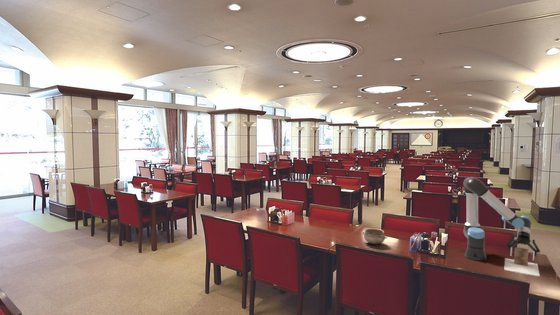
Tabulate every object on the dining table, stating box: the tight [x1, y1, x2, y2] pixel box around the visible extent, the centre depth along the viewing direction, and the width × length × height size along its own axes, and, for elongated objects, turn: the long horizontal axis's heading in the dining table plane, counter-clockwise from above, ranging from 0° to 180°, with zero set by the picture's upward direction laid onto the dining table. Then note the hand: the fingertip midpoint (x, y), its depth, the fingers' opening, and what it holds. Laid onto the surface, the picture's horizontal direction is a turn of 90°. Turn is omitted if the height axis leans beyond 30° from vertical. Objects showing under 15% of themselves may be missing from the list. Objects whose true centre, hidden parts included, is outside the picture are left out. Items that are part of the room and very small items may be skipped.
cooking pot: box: [361, 228, 388, 246], centre depth 287 cm, size 25×19×12 cm
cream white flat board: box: [503, 258, 541, 278], centre depth 232 cm, size 28×20×1 cm
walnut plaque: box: [513, 246, 529, 266], centre depth 236 cm, size 8×4×12 cm, turn 48°
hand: (521, 257), depth 235 cm, fingers open, 13 cm apart
